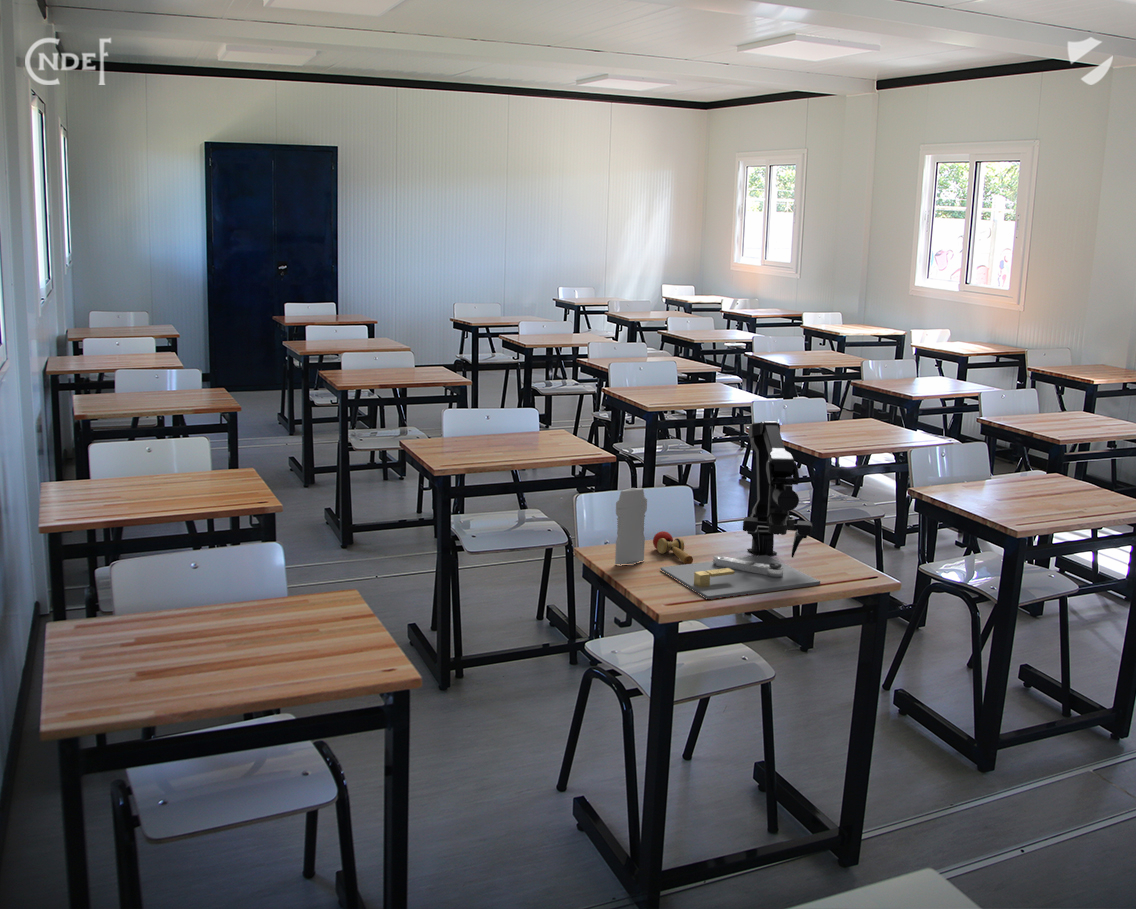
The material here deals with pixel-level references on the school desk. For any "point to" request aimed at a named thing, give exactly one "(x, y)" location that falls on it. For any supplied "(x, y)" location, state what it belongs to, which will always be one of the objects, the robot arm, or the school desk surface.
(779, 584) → the base plate
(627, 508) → the tall pale column
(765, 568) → the link
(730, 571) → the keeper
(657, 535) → the kendama
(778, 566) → the glossy black ball
